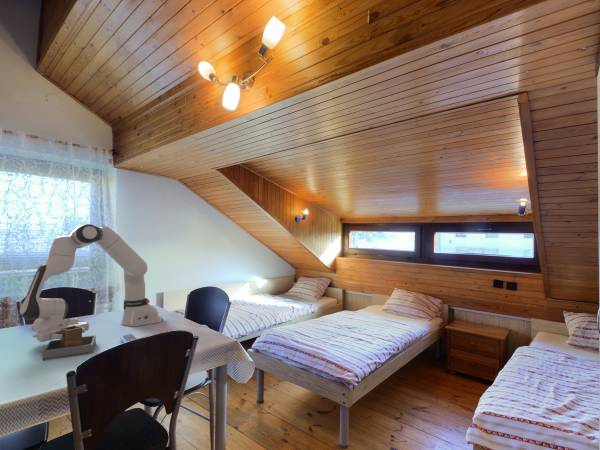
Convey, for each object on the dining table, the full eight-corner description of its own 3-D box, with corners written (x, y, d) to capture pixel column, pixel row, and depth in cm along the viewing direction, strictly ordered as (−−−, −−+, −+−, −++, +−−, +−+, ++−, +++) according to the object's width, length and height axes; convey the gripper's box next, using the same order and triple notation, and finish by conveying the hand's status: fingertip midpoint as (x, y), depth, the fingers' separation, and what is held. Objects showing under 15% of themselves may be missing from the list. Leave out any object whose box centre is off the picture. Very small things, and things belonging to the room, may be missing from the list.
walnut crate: (60, 350, 146) (60, 328, 146) (74, 346, 151) (75, 325, 152) (67, 353, 143) (67, 330, 143) (81, 348, 149) (82, 327, 149)
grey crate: (95, 343, 158) (95, 335, 158) (92, 353, 145) (92, 344, 145) (50, 349, 149) (50, 340, 149) (42, 360, 137) (42, 351, 137)
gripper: (30, 328, 144) (45, 333, 138) (79, 317, 162) (95, 321, 156) (30, 342, 144) (45, 348, 138) (79, 329, 162) (95, 334, 156)
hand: (72, 333), depth 147 cm, fingers open, 8 cm apart
